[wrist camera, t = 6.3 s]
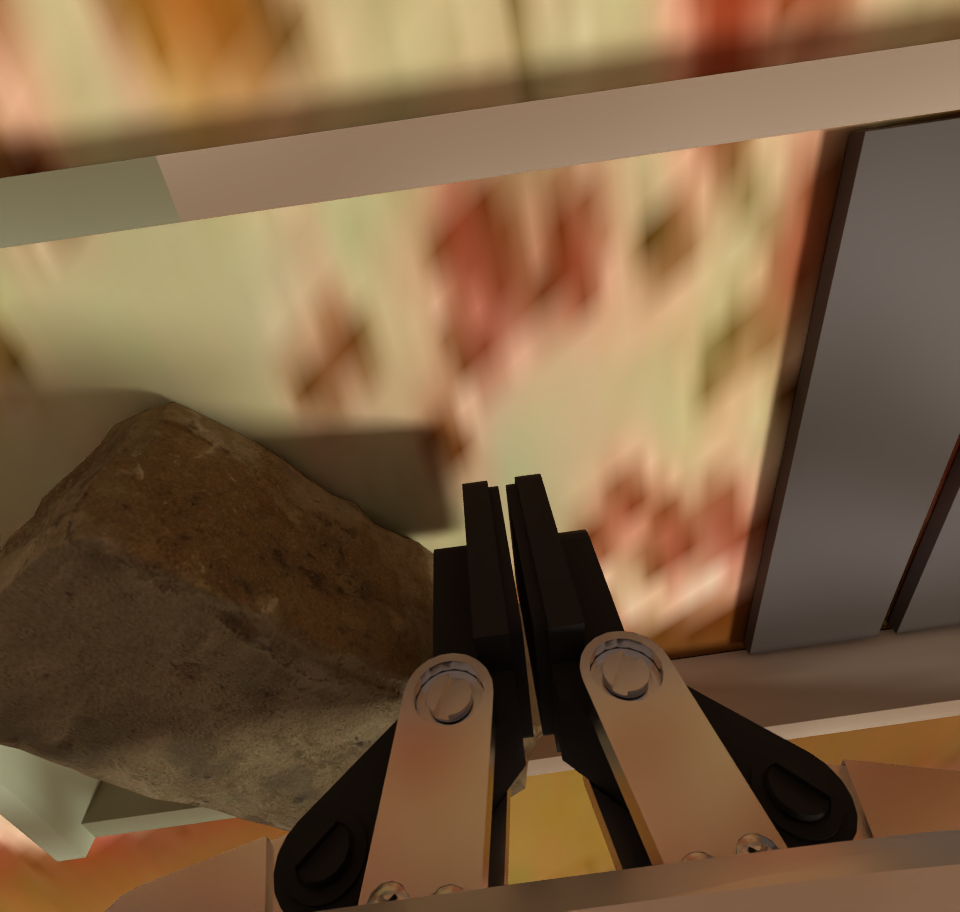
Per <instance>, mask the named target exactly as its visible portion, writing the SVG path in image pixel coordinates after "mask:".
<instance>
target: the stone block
mask: <svg viewBox="0 0 960 912" xmlns="http://www.w3.org/2000/svg"><path fill="white" fill-rule="evenodd" d="M433 555H434V554H433V553H431V552H430V551H429V550H427V549H426V548H425V547H424V546H422V545H421V544H420V543H418V542H416V541H413V540H410V539H408V538H405V537H402V536H400V535H398V534H395V533H393V532H390V531H388V530H386V529H384V528H382V527H380V526H378V525H376V524H374V523H372V522H371V521H370V520H369V519H368V517H367V516H366V515H365V514H364V513H363V512H362V511H361V510H360V509H359V508H358V506H357V505H356V504H355V503H353V502H350V501H348V500H345V499H342V498H339V497H336V496H334V495H331V494H330V493H328V492H327V491H325V490H324V489H322V488H321V487H319V486H318V485H316V484H315V483H313V482H311V481H310V480H308V479H307V478H306V477H304V476H303V475H302V474H301V473H299V472H298V471H297V470H296V469H294V468H293V467H292V466H290V465H289V464H288V463H287V462H285V461H284V460H283V459H281V458H279V457H278V456H276V455H275V454H273V453H271V452H270V451H268V450H267V449H265V448H264V447H262V446H260V445H259V444H257V443H255V442H254V441H252V440H250V439H248V438H246V437H244V436H243V435H241V434H239V433H237V432H235V431H233V430H232V429H230V428H228V427H226V426H224V425H222V424H219V423H217V422H215V421H213V420H211V419H209V418H207V417H205V416H202V415H200V414H198V413H196V412H194V411H192V410H190V409H188V408H186V407H184V406H182V405H180V404H177V403H175V402H173V403H170V404H166V405H163V406H159V407H156V408H153V409H149V410H146V411H144V412H142V413H140V414H137V415H135V416H133V417H131V418H129V419H127V420H125V421H123V422H121V423H119V424H116V425H114V427H113V428H112V429H111V431H110V432H109V433H108V435H107V436H106V437H105V439H104V440H103V441H102V443H101V444H100V445H99V446H98V447H97V448H96V449H95V450H94V451H93V452H92V453H91V454H90V455H89V456H88V457H87V458H86V459H85V460H84V461H83V462H82V463H81V464H80V465H79V466H78V467H77V468H76V469H75V470H73V471H72V472H71V473H70V474H69V475H68V476H66V477H65V478H64V479H63V480H61V481H60V482H59V483H58V484H57V485H56V486H55V487H54V488H53V489H52V490H51V491H50V492H49V493H48V494H47V495H46V496H45V497H44V498H43V499H42V501H41V503H40V505H39V507H38V509H37V511H36V513H35V516H34V517H33V518H32V519H30V520H29V521H28V522H27V523H26V524H25V525H24V526H22V527H21V528H20V529H19V530H18V531H17V532H15V533H14V534H13V535H12V536H11V537H10V538H9V539H8V541H7V542H6V544H5V546H4V547H3V549H2V550H1V551H0V745H4V746H8V747H12V748H16V749H20V750H22V751H25V752H27V753H30V754H32V755H35V756H37V757H40V758H43V759H45V760H48V761H50V762H53V763H56V764H59V765H62V766H65V767H68V768H71V769H74V770H76V771H78V772H80V773H81V774H83V775H86V776H89V777H92V778H95V779H98V780H101V781H104V782H107V783H110V784H113V785H116V786H119V787H122V788H125V789H128V790H130V791H133V792H136V793H139V794H142V795H144V796H147V797H150V798H153V799H159V800H166V801H172V802H178V803H185V804H190V805H194V806H199V807H204V808H208V809H213V810H217V811H220V812H223V813H226V814H229V815H232V816H235V817H238V818H240V819H243V820H247V821H252V822H256V823H261V824H265V825H269V826H273V827H276V828H279V829H282V830H285V831H288V832H290V831H291V830H292V828H293V827H294V826H295V825H296V823H297V822H298V821H299V820H300V819H301V818H302V817H303V816H304V815H305V814H306V813H307V812H308V811H309V809H310V808H311V807H312V806H313V805H314V804H315V803H316V802H317V801H318V800H319V799H320V798H321V797H322V796H323V795H324V794H325V793H326V792H327V791H328V790H329V789H330V788H331V787H332V786H333V785H334V784H335V783H336V782H337V781H338V780H339V779H340V778H341V777H342V776H343V775H344V774H345V773H346V772H347V771H348V769H349V768H350V767H351V766H352V765H353V764H354V763H355V762H356V761H357V760H358V759H359V758H360V757H361V756H362V755H363V754H364V753H365V752H366V751H367V750H368V749H369V748H370V747H371V746H372V745H373V744H374V743H375V742H376V741H377V740H378V739H379V738H380V737H381V736H382V735H383V734H384V733H385V732H386V731H387V730H388V728H389V727H390V726H391V725H392V724H393V723H394V722H395V721H396V720H397V719H398V717H399V713H400V708H401V703H402V699H403V694H404V690H405V688H406V685H407V683H408V680H409V678H410V677H411V676H412V674H413V673H414V672H415V670H416V669H417V668H418V667H420V666H421V665H422V664H424V663H425V662H426V661H427V660H429V659H432V658H433ZM518 605H519V611H520V617H521V623H522V630H523V638H524V646H525V656H526V666H527V675H528V685H529V694H530V704H531V713H532V723H533V732H534V737H530V738H523V743H524V751H525V759H526V766H525V767H524V769H523V770H522V771H521V773H520V774H519V775H518V777H517V778H516V780H515V781H514V782H513V784H512V785H511V786H510V797H512V796H513V795H515V794H517V793H518V792H520V791H522V790H523V789H525V785H526V778H527V770H528V762H529V758H530V755H531V752H532V749H533V747H536V741H537V740H538V739H539V738H540V737H541V736H542V734H543V733H542V728H541V722H540V717H539V711H538V705H537V699H536V694H535V688H534V682H533V677H532V671H531V665H530V659H529V654H528V648H527V642H526V636H525V631H524V625H523V619H522V613H521V608H520V604H518Z"/></svg>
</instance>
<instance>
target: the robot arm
mask: <svg viewBox="0 0 960 912" xmlns="http://www.w3.org/2000/svg"><path fill="white" fill-rule="evenodd" d="M462 488H463V502H464V516H465V529H466V543H467V545H465V546H458V547H450V548H443V549H436V550H434V555H433V658H432V659H429V660H427V661H426V662H425V663H424V664H422V665H421V666H420V667H418V668H417V669H416V670H415V672H414V673H413V674H412V676H411V677H410V678H409V680H408V683H407V685H406V688H405V690H404V694H403V699H402V703H401V708H400V713H399V717H398V719H397V720H396V721H395V722H394V723H393V724H392V725H391V726H390V727H389V728H388V730H387V731H386V732H385V733H384V734H383V735H382V736H381V737H380V738H379V739H378V740H377V741H376V742H375V743H374V744H373V745H372V746H371V747H370V748H369V749H368V750H367V751H366V752H365V753H364V754H363V755H362V756H361V757H360V758H359V759H358V760H357V761H356V762H355V763H354V764H353V765H352V766H351V767H350V768H349V769H348V771H347V772H346V773H345V774H344V775H343V776H342V777H341V778H340V779H339V780H338V781H337V782H336V783H335V784H334V785H333V786H332V787H331V788H330V789H329V790H328V791H327V792H326V793H325V794H324V795H323V796H322V797H321V798H320V799H319V800H318V801H317V802H316V803H315V804H314V805H313V806H312V807H311V808H310V809H309V811H308V812H307V813H306V814H305V815H304V816H303V817H302V818H301V819H300V820H299V821H298V822H297V823H296V825H295V826H294V827H293V828H292V830H291V831H290V832H289V834H287V835H285V836H282V837H280V838H277V839H275V840H272V841H270V840H269V839H268V838H267V836H265V837H263V838H260V839H258V840H255V841H253V842H250V843H248V844H245V845H242V846H240V847H237V848H235V849H232V850H230V851H227V852H224V853H222V854H219V855H217V856H214V857H212V858H209V859H207V860H204V861H201V862H199V863H196V864H194V865H191V866H189V867H186V868H183V869H181V870H178V871H176V872H173V873H171V874H168V875H166V876H163V877H160V878H158V879H155V880H153V881H150V882H148V883H145V884H142V885H140V886H138V887H136V888H134V889H133V890H131V891H129V892H127V893H126V894H124V895H122V896H120V897H119V898H118V899H117V900H116V901H115V902H114V903H113V904H112V905H111V906H110V907H109V908H108V909H107V910H106V911H105V912H960V771H954V770H944V769H934V768H924V767H915V766H905V765H895V764H886V763H876V762H866V761H856V760H847V759H844V760H843V762H842V764H841V765H834V764H825V763H824V762H822V761H821V760H820V759H818V758H817V757H815V756H814V755H812V754H811V753H809V752H807V751H806V750H804V749H802V748H800V747H798V746H796V745H795V744H793V743H791V742H789V741H787V740H785V739H784V738H782V737H780V736H778V735H776V734H775V733H773V732H771V731H769V730H767V729H765V728H764V727H762V726H760V725H758V724H756V723H754V722H753V721H751V720H749V719H747V718H745V717H743V716H742V715H740V714H738V713H736V712H734V711H733V710H731V709H729V708H727V707H725V706H723V705H722V704H720V703H718V702H716V701H714V700H712V699H711V698H709V697H707V696H705V695H703V694H701V693H700V692H698V691H696V690H694V689H692V688H691V687H689V686H687V685H686V684H685V683H684V681H683V679H682V678H681V676H680V675H679V673H678V671H677V670H676V668H675V667H674V665H673V663H672V662H671V660H670V659H669V657H668V656H667V655H666V653H665V652H664V651H663V650H662V649H661V647H660V646H659V645H657V644H656V643H654V642H653V641H651V640H650V639H649V638H647V637H644V636H642V635H639V634H636V633H633V632H625V631H624V629H623V626H622V623H621V621H620V618H619V615H618V613H617V610H616V607H615V605H614V602H613V599H612V596H611V594H610V591H609V588H608V586H607V583H606V580H605V578H604V575H603V572H602V569H601V567H600V564H599V561H598V559H597V556H596V553H595V551H594V548H593V545H592V542H591V540H590V537H589V535H588V533H587V531H586V530H578V531H570V532H563V533H558V531H557V528H556V524H555V521H554V518H553V514H552V511H551V507H550V504H549V501H548V497H547V494H546V491H545V487H544V484H543V481H542V477H541V474H534V475H526V476H519V477H515V484H510V485H506V493H507V502H508V511H509V521H510V530H511V539H512V549H513V558H514V567H515V576H516V584H517V590H518V596H519V602H520V608H521V613H522V619H523V625H524V631H525V636H526V642H527V648H528V654H529V659H530V665H531V671H532V677H533V682H534V688H535V694H536V699H537V705H538V711H539V717H540V722H541V728H542V733H543V736H545V735H553V734H554V738H555V743H556V748H557V753H559V752H561V756H562V760H563V761H564V762H566V763H567V764H568V765H570V766H571V767H572V768H574V769H575V770H576V771H578V772H579V773H580V774H582V776H583V781H584V785H585V788H586V791H587V793H588V796H589V799H590V801H591V804H592V807H593V809H594V812H595V815H596V817H597V820H598V823H599V825H600V828H601V831H602V833H603V836H604V839H605V841H606V844H607V847H608V850H609V852H610V855H611V858H612V860H613V863H614V866H615V868H616V871H609V872H602V873H594V874H587V875H579V876H572V877H564V878H557V879H549V880H542V881H534V882H527V883H519V884H512V885H508V864H509V829H510V786H511V785H512V784H513V782H514V781H515V780H516V778H517V777H518V775H519V774H520V773H521V771H522V770H523V769H524V767H525V766H526V759H525V751H524V743H523V738H530V737H534V732H533V723H532V713H531V704H530V694H529V685H528V675H527V666H526V656H525V646H524V638H523V630H522V623H521V617H520V611H519V605H518V599H517V593H516V588H515V582H514V576H513V570H512V564H511V558H510V552H509V547H508V541H507V535H506V529H505V523H504V517H503V512H502V506H501V500H500V494H499V488H498V486H495V487H488V483H487V481H481V482H474V483H466V484H462Z"/></svg>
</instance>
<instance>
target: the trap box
mask: <svg viewBox="0 0 960 912" xmlns="http://www.w3.org/2000/svg"><path fill="white" fill-rule="evenodd" d="M959 109H960V39H957V40H950V41H943V42H936V43H930V44H923V45H916V46H909V47H902V48H895V49H888V50H881V51H874V52H868V53H861V54H854V55H847V56H840V57H833V58H826V59H819V60H812V61H805V62H799V63H792V64H785V65H778V66H771V67H764V68H757V69H750V70H743V71H737V72H730V73H723V74H716V75H709V76H702V77H695V78H688V79H681V80H674V81H668V82H661V83H654V84H647V85H640V86H633V87H626V88H619V89H612V90H606V91H599V92H592V93H585V94H578V95H571V96H564V97H557V98H550V99H543V100H537V101H530V102H523V103H516V104H509V105H502V106H495V107H488V108H481V109H475V110H468V111H461V112H454V113H447V114H440V115H433V116H426V117H419V118H412V119H406V120H399V121H392V122H385V123H378V124H371V125H364V126H357V127H350V128H344V129H337V130H330V131H323V132H316V133H309V134H302V135H295V136H288V137H281V138H275V139H268V140H261V141H254V142H247V143H240V144H233V145H226V146H219V147H213V148H206V149H199V150H192V151H185V152H178V153H171V154H164V155H157V156H150V157H144V158H137V159H130V160H123V161H116V162H109V163H102V164H95V165H88V166H82V167H75V168H68V169H61V170H54V171H47V172H40V173H33V174H26V175H19V176H13V177H6V178H0V248H5V247H12V246H19V245H26V244H33V243H40V242H47V241H54V240H61V239H68V238H74V237H81V236H88V235H95V234H102V233H109V232H116V231H123V230H130V229H137V228H144V227H151V226H157V225H164V224H171V223H178V222H185V221H192V220H199V219H206V218H213V217H220V216H227V215H233V214H240V213H247V212H254V211H261V210H268V209H275V208H282V207H289V206H296V205H303V204H310V203H316V202H323V201H330V200H337V199H344V198H351V197H358V196H365V195H372V194H379V193H386V192H392V191H399V190H406V189H413V188H420V187H427V186H434V185H441V184H448V183H455V182H462V181H468V180H475V179H482V178H489V177H496V176H503V175H510V174H517V173H524V172H531V171H538V170H545V169H551V168H558V167H565V166H572V165H579V164H586V163H593V162H600V161H607V160H614V159H621V158H627V157H634V156H641V155H648V154H655V153H662V152H669V151H676V150H683V149H690V148H697V147H704V146H710V145H717V144H724V143H731V142H738V141H745V140H752V139H759V138H766V137H773V136H780V135H786V134H793V133H800V132H807V131H814V130H821V129H828V128H835V127H842V126H849V125H856V124H863V123H869V122H876V121H883V120H890V119H897V118H904V117H911V116H918V115H925V114H932V113H939V112H945V111H952V110H959ZM959 434H960V116H955V117H948V118H942V119H935V120H928V121H921V122H914V123H907V124H900V125H893V126H886V127H879V128H872V129H865V130H859V131H852V132H850V135H849V140H848V145H847V150H846V155H845V159H844V164H843V169H842V174H841V178H840V183H839V188H838V193H837V198H836V202H835V207H834V212H833V217H832V222H831V226H830V231H829V236H828V241H827V246H826V250H825V255H824V260H823V265H822V270H821V274H820V279H819V284H818V289H817V294H816V298H815V303H814V308H813V313H812V317H811V322H810V327H809V332H808V337H807V341H806V346H805V351H804V356H803V361H802V365H801V370H800V375H799V380H798V385H797V389H796V394H795V399H794V404H793V409H792V413H791V418H790V423H789V428H788V432H787V437H786V442H785V447H784V452H783V456H782V461H781V466H780V471H779V476H778V480H777V485H776V490H775V495H774V500H773V504H772V509H771V514H770V519H769V524H768V528H767V533H766V538H765V543H764V548H763V552H762V557H761V562H760V567H759V571H758V576H757V581H756V586H755V591H754V595H753V600H752V605H751V610H750V615H749V619H748V624H747V629H746V634H745V639H744V643H743V644H744V646H745V648H746V649H747V650H741V651H734V652H727V653H720V654H712V655H705V656H698V657H691V658H684V659H677V660H671V662H672V663H673V665H674V667H675V668H676V670H677V671H678V673H679V675H680V676H681V678H682V679H683V681H684V683H685V684H686V685H687V686H689V687H691V688H692V689H694V690H696V691H698V692H700V693H701V694H703V695H705V696H707V697H709V698H711V699H712V700H714V701H716V702H718V703H720V704H722V705H723V706H725V707H727V708H729V709H731V710H733V711H734V712H736V713H738V714H740V715H742V716H743V717H745V718H747V719H749V720H751V721H753V722H754V723H756V724H758V725H760V726H762V727H764V728H765V729H767V730H769V731H771V732H773V733H775V734H776V735H778V736H780V737H782V738H784V739H785V740H787V739H794V738H801V737H808V736H815V735H822V734H829V733H836V732H844V731H851V730H858V729H865V728H872V727H879V726H886V725H893V724H900V723H907V722H914V721H921V720H928V719H935V718H943V717H950V716H957V715H960V448H959V451H958V453H957V455H956V458H955V460H954V463H953V465H952V468H951V470H950V472H949V475H948V477H947V480H946V482H945V485H944V487H943V489H942V492H941V494H940V497H939V499H938V502H937V504H936V506H935V509H934V511H933V514H932V516H931V519H930V521H929V523H928V526H927V528H926V531H925V533H924V536H923V538H922V540H921V543H920V545H919V548H918V550H917V553H916V555H915V557H914V560H913V562H912V565H911V567H910V570H909V572H908V574H907V577H906V579H905V582H904V584H903V587H902V589H901V591H900V594H899V596H898V599H897V601H896V604H895V606H894V608H893V611H892V613H891V616H890V618H889V621H888V623H887V624H888V625H889V626H890V627H891V628H892V629H889V630H882V631H880V629H881V626H882V624H883V621H884V619H885V616H886V614H887V611H888V609H889V607H890V604H891V602H892V599H893V597H894V594H895V592H896V589H897V587H898V584H899V582H900V579H901V577H902V574H903V572H904V569H905V567H906V565H907V562H908V560H909V557H910V555H911V552H912V550H913V547H914V545H915V542H916V540H917V537H918V535H919V532H920V530H921V527H922V525H923V523H924V520H925V518H926V515H927V513H928V510H929V508H930V505H931V503H932V500H933V498H934V495H935V493H936V490H937V488H938V485H939V483H940V481H941V478H942V476H943V473H944V471H945V468H946V466H947V463H948V461H949V458H950V456H951V453H952V451H953V448H954V446H955V443H956V441H957V439H958V436H959ZM568 770H575V769H574V768H572V767H571V766H570V765H568V764H567V763H566V762H564V761H563V760H562V756H561V752H559V753H557V748H556V743H555V738H554V734H553V735H545V736H543V734H542V736H541V737H540V738H539V739H538V740H537V741H536V747H533V749H532V752H531V755H530V758H529V762H528V770H527V776H532V775H539V774H546V773H554V772H561V771H568ZM0 814H1V815H2V816H3V817H4V818H6V819H7V820H8V821H9V822H10V823H12V824H13V825H14V826H15V827H16V828H18V829H19V830H20V831H21V832H23V833H24V834H25V835H26V836H27V837H29V838H30V839H31V840H32V841H33V842H35V843H36V844H37V845H38V846H40V847H41V848H42V849H43V850H44V851H46V852H47V853H48V854H49V855H50V856H52V857H53V858H54V859H55V860H57V861H63V860H70V859H77V858H84V857H86V855H87V853H88V851H89V849H90V847H91V845H92V843H93V841H94V839H95V837H101V836H108V835H115V834H122V833H129V832H136V831H143V830H150V829H157V828H164V827H172V826H179V825H186V824H193V823H200V822H207V821H214V820H221V819H228V818H235V816H232V815H229V814H226V813H223V812H220V811H217V810H213V809H208V808H204V807H199V806H194V805H190V804H185V803H178V802H172V801H166V800H159V799H153V798H150V797H147V796H144V795H142V794H139V793H136V792H133V791H130V790H128V789H125V788H122V787H119V786H116V785H113V784H110V783H107V782H104V781H101V780H98V779H95V778H92V777H89V776H86V775H83V774H81V773H80V772H78V771H76V770H74V769H71V768H68V767H65V766H62V765H59V764H56V763H53V762H50V761H48V760H45V759H43V758H40V757H37V756H35V755H32V754H30V753H27V752H25V751H22V750H20V749H16V748H12V747H8V746H4V745H0Z"/></svg>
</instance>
